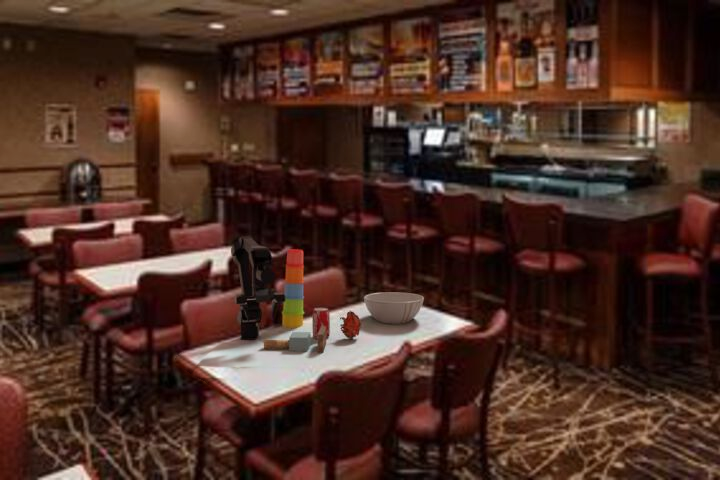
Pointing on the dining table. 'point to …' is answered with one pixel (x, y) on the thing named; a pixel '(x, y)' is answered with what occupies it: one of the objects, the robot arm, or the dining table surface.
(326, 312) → the soda can
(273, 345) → the dowel
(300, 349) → the block
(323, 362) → the dining table surface
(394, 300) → the decorative bowl
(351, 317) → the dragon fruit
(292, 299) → the stacking cups
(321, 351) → the wall
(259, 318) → the robot arm
